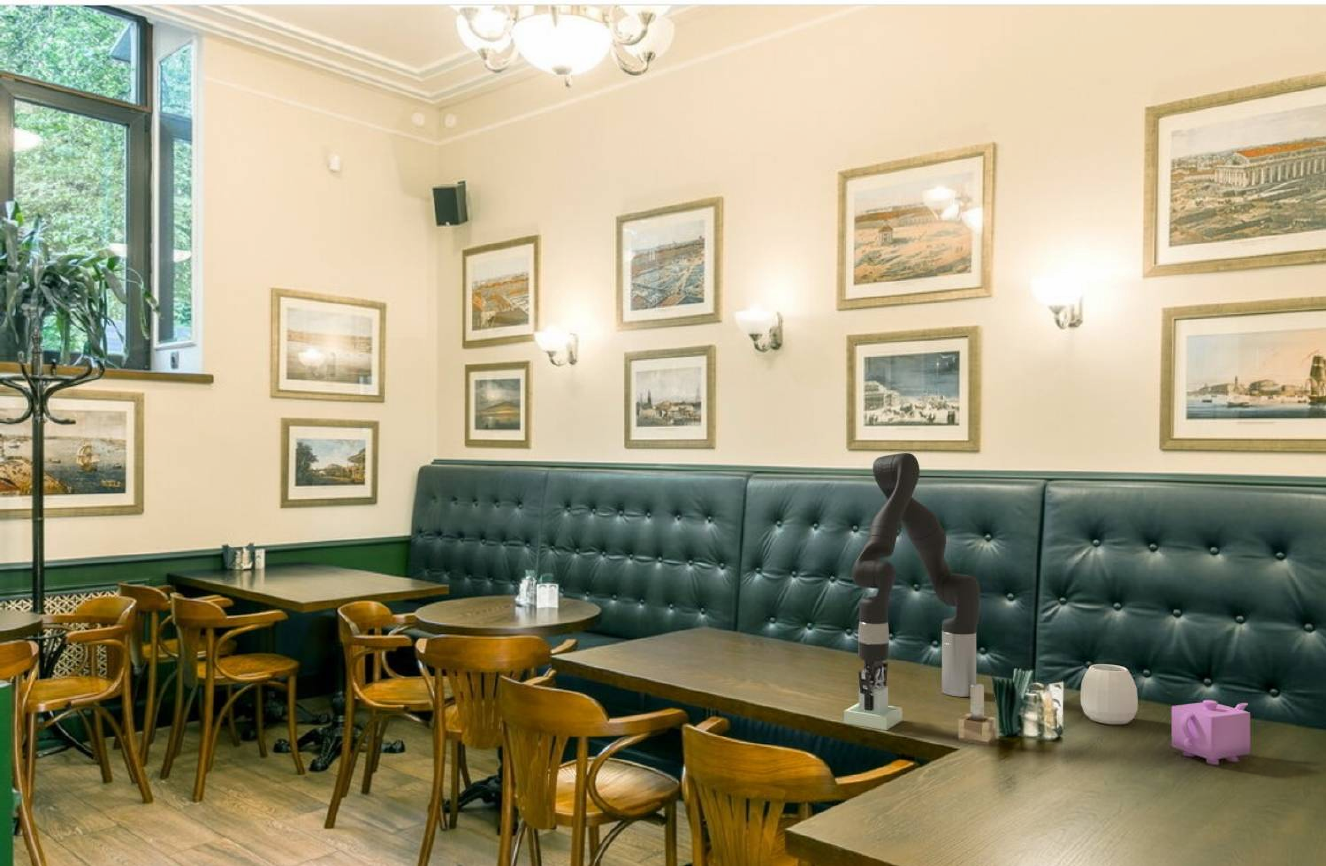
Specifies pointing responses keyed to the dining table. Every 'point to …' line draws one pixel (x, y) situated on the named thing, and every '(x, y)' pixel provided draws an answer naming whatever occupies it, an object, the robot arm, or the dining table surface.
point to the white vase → (1109, 694)
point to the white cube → (876, 701)
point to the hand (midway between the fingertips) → (873, 707)
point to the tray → (873, 717)
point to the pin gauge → (977, 702)
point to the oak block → (977, 730)
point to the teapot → (1211, 730)
